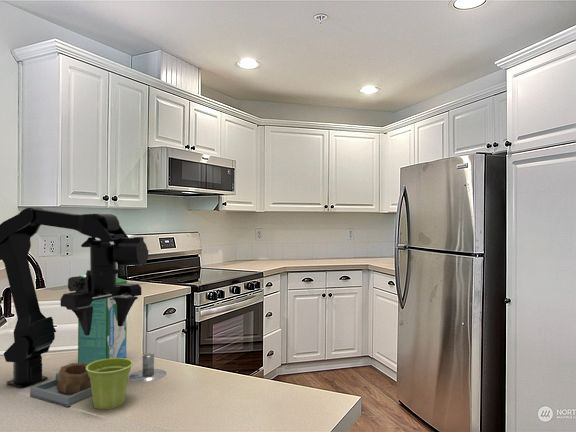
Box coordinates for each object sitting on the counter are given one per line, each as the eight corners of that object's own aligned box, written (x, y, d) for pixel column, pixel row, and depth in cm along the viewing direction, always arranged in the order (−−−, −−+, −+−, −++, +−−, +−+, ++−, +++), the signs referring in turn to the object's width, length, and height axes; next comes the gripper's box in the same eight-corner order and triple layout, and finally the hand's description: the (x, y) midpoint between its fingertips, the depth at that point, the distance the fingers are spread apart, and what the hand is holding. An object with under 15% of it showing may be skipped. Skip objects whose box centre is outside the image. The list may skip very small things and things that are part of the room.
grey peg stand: (121, 379, 105) (121, 357, 105) (148, 368, 113) (148, 348, 113) (148, 385, 101) (148, 363, 101) (173, 373, 109) (174, 352, 109)
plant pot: (118, 392, 97) (119, 354, 97) (141, 403, 91) (141, 363, 91) (77, 405, 90) (77, 365, 90) (98, 419, 84) (99, 375, 84)
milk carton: (107, 369, 112) (107, 276, 112) (77, 367, 114) (78, 275, 114) (126, 358, 121) (127, 272, 121) (98, 356, 122) (99, 271, 123)
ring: (71, 396, 93) (73, 379, 93) (44, 383, 97) (46, 366, 97) (97, 385, 99) (99, 369, 99) (72, 373, 103) (73, 357, 103)
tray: (30, 396, 95) (30, 387, 95) (80, 377, 106) (80, 369, 106) (68, 407, 89) (68, 398, 89) (117, 386, 101) (117, 377, 101)
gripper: (112, 261, 113) (113, 319, 112) (45, 268, 96) (45, 336, 96) (142, 262, 108) (143, 323, 107) (76, 270, 91) (77, 342, 91)
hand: (104, 330), depth 100 cm, fingers open, 9 cm apart
